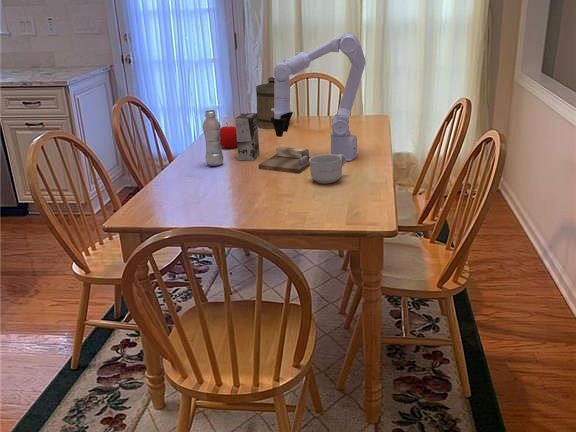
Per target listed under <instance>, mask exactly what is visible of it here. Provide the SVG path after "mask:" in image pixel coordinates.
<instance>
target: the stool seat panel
mask: <svg viewBox="0 0 576 432" xmlns="http://www.w3.org/2000/svg"><path fill="white" fill-rule="evenodd" d="M311 157H312V156H309V158H308V156H303V157H302V158H292V157H283V156H276V154H274V155H273V156H271V157H269V158H268V159H266V160H264V161H262V162H260V163H259V164H258V169H259V170H266V171H275V172H282V173H283V172H284V173H292V174H301V173H302V172H304V171H305V170H307V168H310V162H309V159H310V158H311Z"/></svg>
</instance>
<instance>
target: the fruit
mask: <svg viewBox="0 0 576 432" xmlns="http://www.w3.org/2000/svg"><path fill="white" fill-rule="evenodd" d="M225 124H226V125H225V126H221V127H220V144H221V148H224V149H234V148H235V147H237V134H236V126H228V122H226V123H225Z"/></svg>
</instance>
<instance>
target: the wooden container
mask: <svg viewBox="0 0 576 432" xmlns="http://www.w3.org/2000/svg"><path fill="white" fill-rule="evenodd" d="M274 80H275V77H274V76H269V77H268V78H267V81H268V82H267V83H262V84H261V83H260V84H258V85H256V87H255V91H256V92H255V94H256V95H255V96H256V113H257V119H258V128H261V129H264V130H266V129H267V130H275V128H274V125H273V123H272V121H271V117H274V111H271V109H272V108H274V84H275V82H274Z"/></svg>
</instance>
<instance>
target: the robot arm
mask: <svg viewBox="0 0 576 432" xmlns="http://www.w3.org/2000/svg"><path fill="white" fill-rule="evenodd" d="M340 51H341V53H343V54H344V56H346V57H347V58H348V60H349V62H350V63H351V66H350V68H349V72H348V76H347V78H346V82H345V87H344V88H343V89H344V90H343V93H342V96H341V99H340V103H339V107H338V109H337V111H336V114H335V115H334V116H333V118H332V120H331V129H330V130H331V132H330V154H334V155H339V154H343V155H344V156H345V157H346V162H352V161H353V160H354V159H356V157H358V155H359V154H358V137H357V136H356V135H355V134H351V131H349V130H350V125H349V123H350V116H351V113H352V112H351V111H352V108H353V106H354V103H355V102H354V101H355V99H356V96H357V93H358V89H359V86H360V83H361V81H362V80H361V79H362V77H363V74H364V70H365V66H366V62H367V61H366V57H365V54H364V51H363V48H362V44H361V42H360V40H359V39H358V37H357V36H356V35H355V34H354V33H352V32H347V33H344V34H343V35H342V36H341V35H338V36H336V37H334V38H332V39H329V40H328V41H325V42H324V43H323V44H321V45H319V46H317V47H315V48H314V49H312V50H310V51H308V52H304V51H300V52H299V51H297V52H295V53H294V55H292V57H289V58H288V59H286V58H285V59H283V60H282V62H278V63H277V64H276V66H275V67H274V68H273V73H272V74H273V77H274V78H275V80H274V82H275V84H274V108H272V109H271V111H274V117H271V121H272V123H273V125H274V128H275V129H274V133H275V137H277V138H278V137H279V138H280V137H281V138H282V137H283V136H284V132H285V133H287V132H288V130H289V128H290V123H291V122H290V121H291V119H292V116H293V114H294V112H293V111H291V85H290V76H292V75H293V76H295V75H296V74H299V73H300V72H302V71H303V70H305V69H307V68H309V67H310V65H311V62H313V61H315V60H317V59H319V58H321V57H323V56H325V55H327V54H329V53H340Z"/></svg>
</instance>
